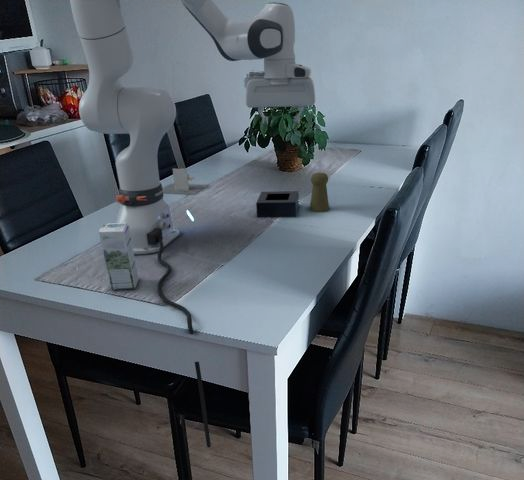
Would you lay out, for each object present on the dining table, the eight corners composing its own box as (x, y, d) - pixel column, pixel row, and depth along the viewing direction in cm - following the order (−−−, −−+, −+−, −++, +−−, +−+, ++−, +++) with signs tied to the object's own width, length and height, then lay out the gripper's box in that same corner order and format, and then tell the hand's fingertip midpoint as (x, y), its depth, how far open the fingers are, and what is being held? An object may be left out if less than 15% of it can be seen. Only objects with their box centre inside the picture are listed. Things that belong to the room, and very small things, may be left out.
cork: (329, 205, 173) (329, 170, 167) (329, 211, 168) (329, 175, 162) (310, 206, 173) (309, 171, 168) (309, 212, 168) (309, 176, 162)
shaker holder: (295, 216, 165) (295, 202, 163) (257, 217, 167) (256, 202, 164) (298, 204, 175) (298, 190, 173) (262, 205, 177) (261, 191, 174)
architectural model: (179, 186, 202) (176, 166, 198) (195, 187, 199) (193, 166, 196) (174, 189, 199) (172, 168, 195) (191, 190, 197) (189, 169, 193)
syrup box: (139, 279, 132) (128, 221, 124) (135, 289, 127) (123, 229, 119) (115, 280, 132) (103, 222, 124) (110, 291, 127) (97, 231, 119)
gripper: (241, 73, 152) (244, 125, 159) (314, 70, 149) (314, 123, 156) (245, 71, 157) (248, 122, 164) (316, 68, 155) (315, 120, 162)
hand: (281, 123), depth 160 cm, fingers open, 8 cm apart
